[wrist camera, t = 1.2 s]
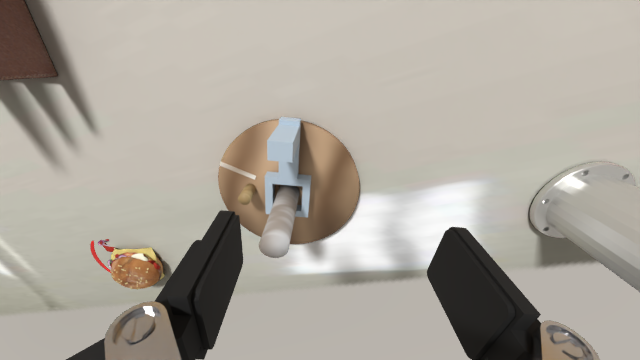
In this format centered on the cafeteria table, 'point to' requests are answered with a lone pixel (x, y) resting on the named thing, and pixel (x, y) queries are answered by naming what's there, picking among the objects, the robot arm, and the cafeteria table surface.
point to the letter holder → (21, 44)
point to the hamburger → (132, 266)
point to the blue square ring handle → (286, 164)
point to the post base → (311, 162)
